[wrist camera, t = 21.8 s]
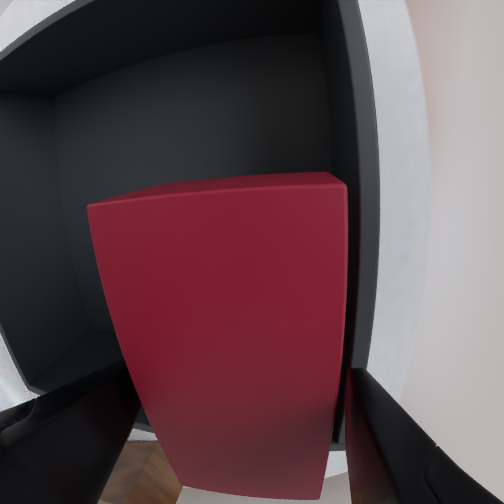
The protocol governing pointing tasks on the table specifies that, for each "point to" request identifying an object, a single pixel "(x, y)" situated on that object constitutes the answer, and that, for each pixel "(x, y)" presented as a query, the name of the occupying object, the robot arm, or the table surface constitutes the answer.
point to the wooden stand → (141, 477)
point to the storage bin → (170, 149)
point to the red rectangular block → (232, 322)
